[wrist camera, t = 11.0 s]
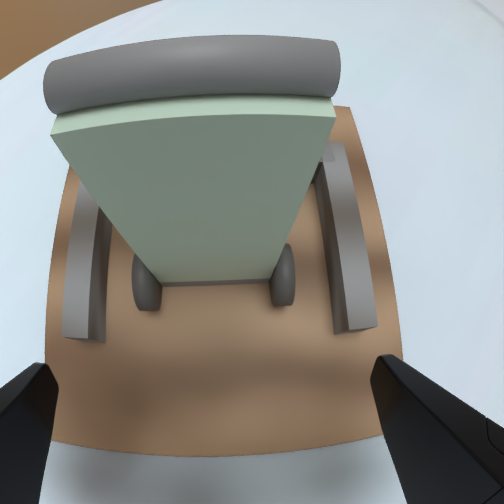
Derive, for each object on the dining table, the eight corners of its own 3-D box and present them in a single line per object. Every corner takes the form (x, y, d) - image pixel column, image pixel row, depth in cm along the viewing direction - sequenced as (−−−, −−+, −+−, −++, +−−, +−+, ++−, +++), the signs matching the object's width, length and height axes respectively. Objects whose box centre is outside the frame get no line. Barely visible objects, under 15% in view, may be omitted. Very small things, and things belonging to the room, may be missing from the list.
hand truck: (286, 310, 16) (426, 153, 4) (147, 315, 16) (-33, 180, 4) (276, 205, 18) (334, -15, 6) (151, 210, 18) (68, 1, 6)
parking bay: (404, 427, 15) (428, 433, 12) (52, 439, 13) (28, 446, 11) (348, 109, 22) (358, 85, 20) (85, 119, 21) (74, 96, 18)
